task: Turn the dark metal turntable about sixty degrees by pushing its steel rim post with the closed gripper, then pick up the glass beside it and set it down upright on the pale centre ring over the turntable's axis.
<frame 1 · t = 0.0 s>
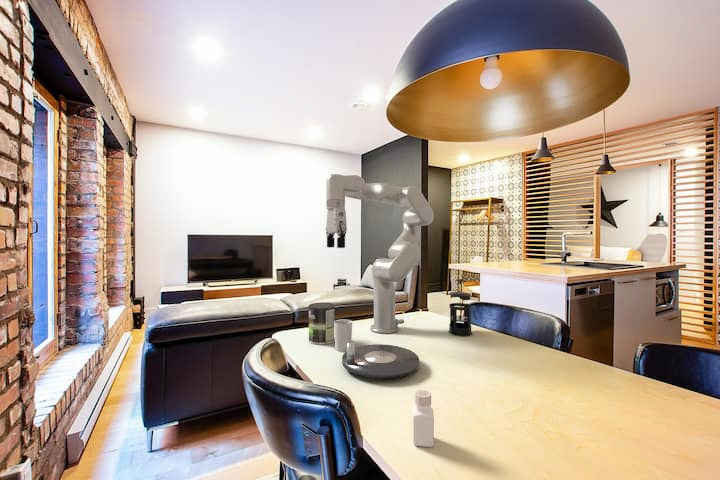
hand: (335, 247, 128), 37 cm above the table, tool pointing down, fingers open, 9 cm apart
french press: (460, 333, 135), on the table
turntable: (380, 351, 99), point 5 cm above the table, hinge at 0.0°
coffee can: (321, 341, 125), on the table
drinking glass: (343, 349, 115), on the table
white pill bottle: (422, 442, 62), on the table
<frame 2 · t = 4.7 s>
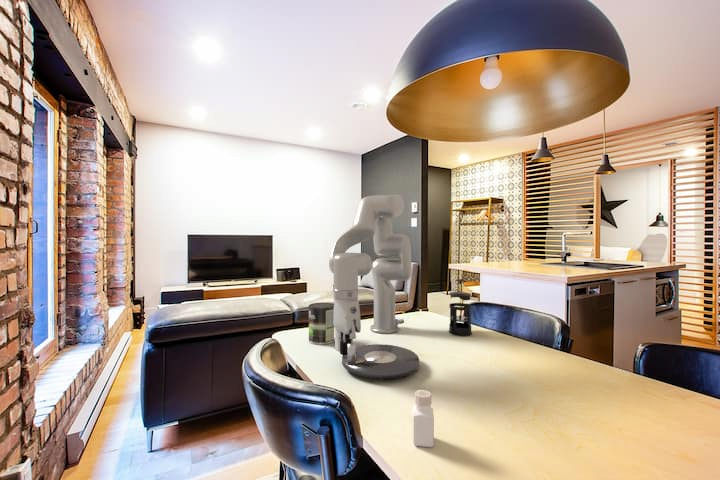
hand: (345, 353, 97), 5 cm above the table, tool pointing down, fingers closed
turntable: (380, 351, 99), point 5 cm above the table, hinge at 2.0°, touching gripper
everything else where it was.
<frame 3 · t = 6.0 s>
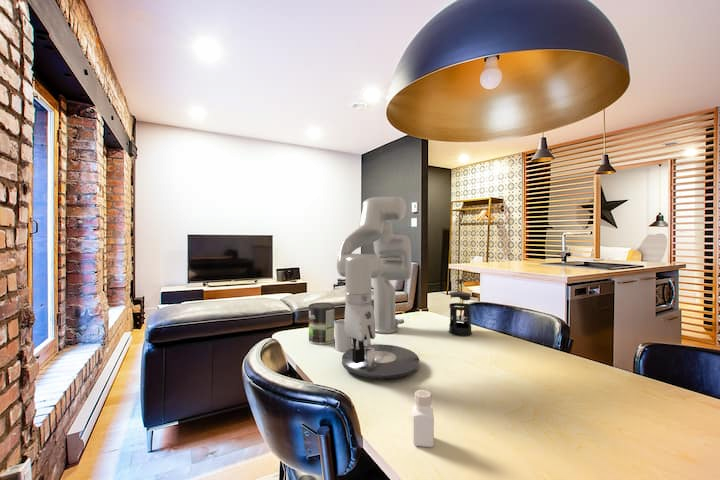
hand: (358, 361, 91), 5 cm above the table, tool pointing down, fingers closed
turntable: (380, 351, 99), point 5 cm above the table, hinge at 41.0°, touching gripper
everything else where it was.
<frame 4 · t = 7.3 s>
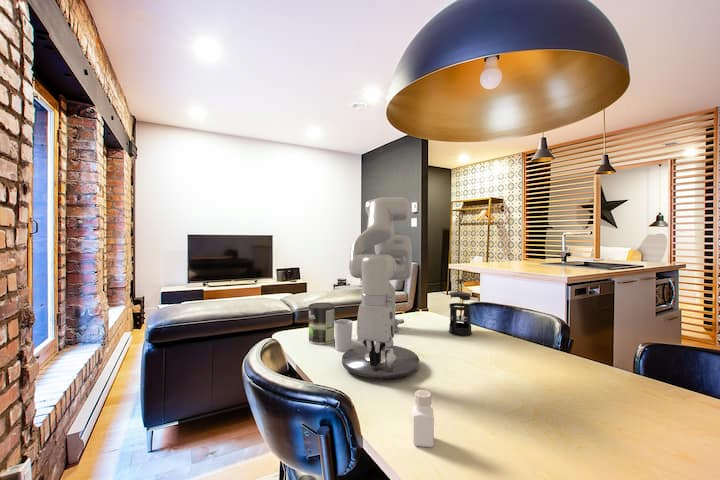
hand: (375, 364, 89), 5 cm above the table, tool pointing down, fingers closed
turntable: (380, 351, 99), point 5 cm above the table, hinge at 70.2°, touching gripper
everything else where it was.
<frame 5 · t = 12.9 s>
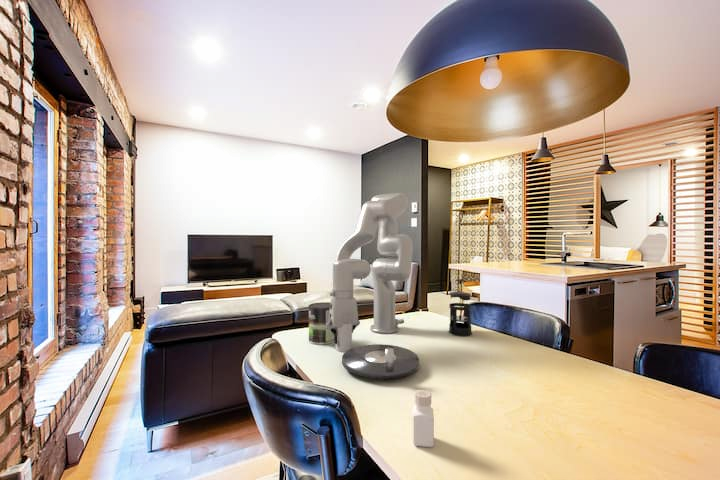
hand: (343, 344, 115), 2 cm above the table, tool pointing down, fingers closed on drinking glass, 3 cm apart
turntable: (380, 351, 99), point 5 cm above the table, hinge at 70.7°
drinking glass: (343, 349, 115), on the table, touching gripper
everything else where it was.
when the fingers open (7 cm above the table, at t = 18.4 s): drinking glass drops 2 cm, resting on turntable.
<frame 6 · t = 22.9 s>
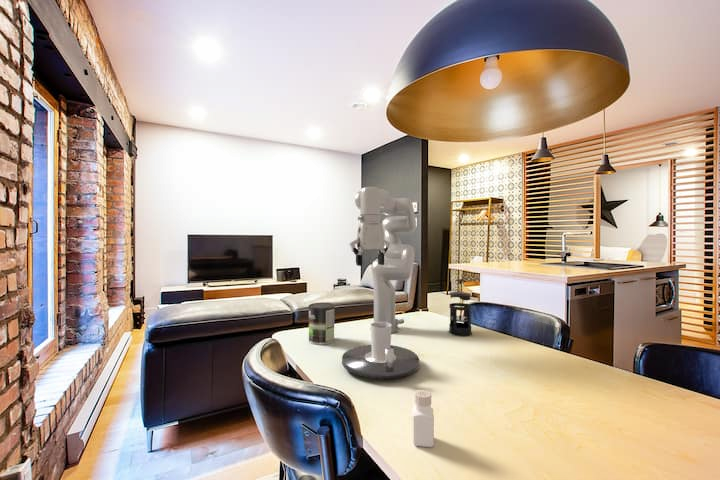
hand: (370, 265, 120), 30 cm above the table, tool pointing down, fingers open, 9 cm apart
turntable: (380, 351, 99), point 5 cm above the table, hinge at 70.7°, touching drinking glass
drinking glass: (380, 357, 99), point 3 cm above the table, touching turntable
everything else where it was.
at the end: drinking glass 0.3 cm off-centre on the turntable, point 2.9 cm above the turntable's base; drinking glass tilted 0°; turntable at +71° (first picture: +0°) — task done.
